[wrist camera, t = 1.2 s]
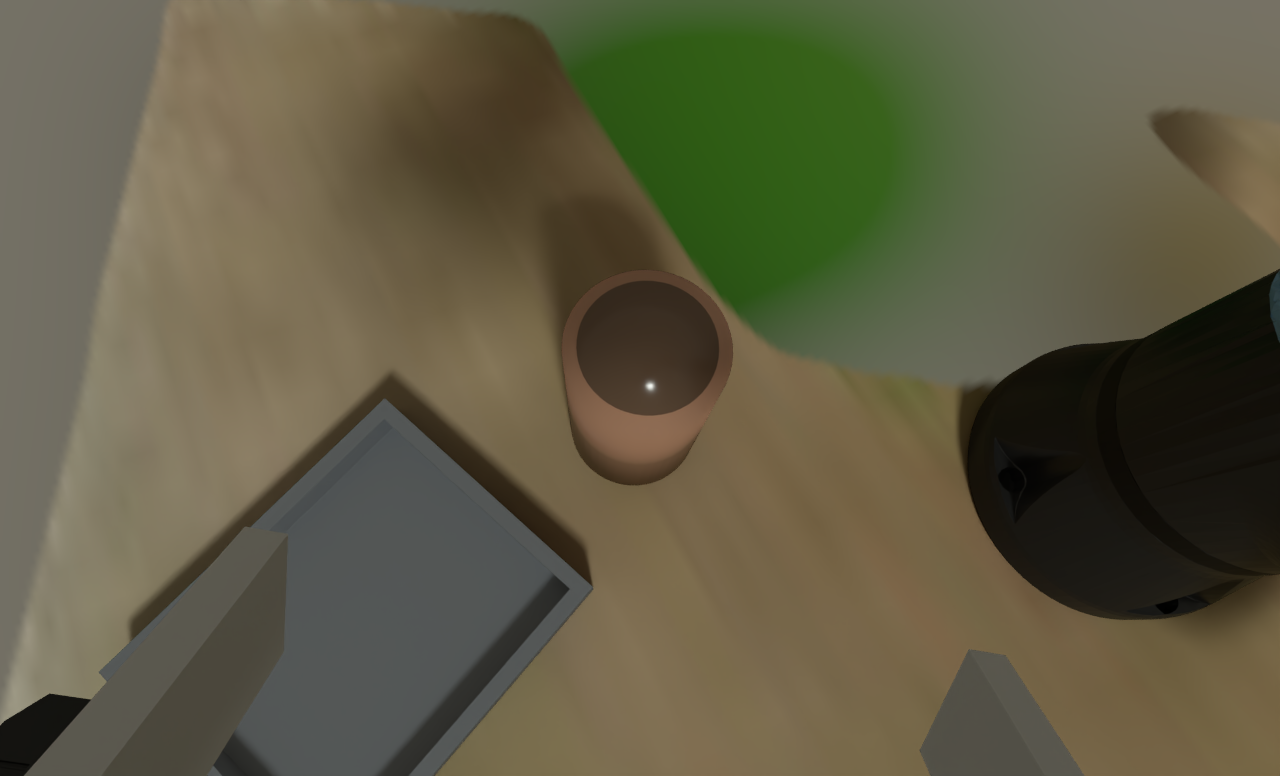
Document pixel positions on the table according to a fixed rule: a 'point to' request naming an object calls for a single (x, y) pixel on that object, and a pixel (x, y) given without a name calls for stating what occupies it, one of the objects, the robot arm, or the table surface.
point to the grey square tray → (392, 612)
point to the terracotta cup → (643, 372)
